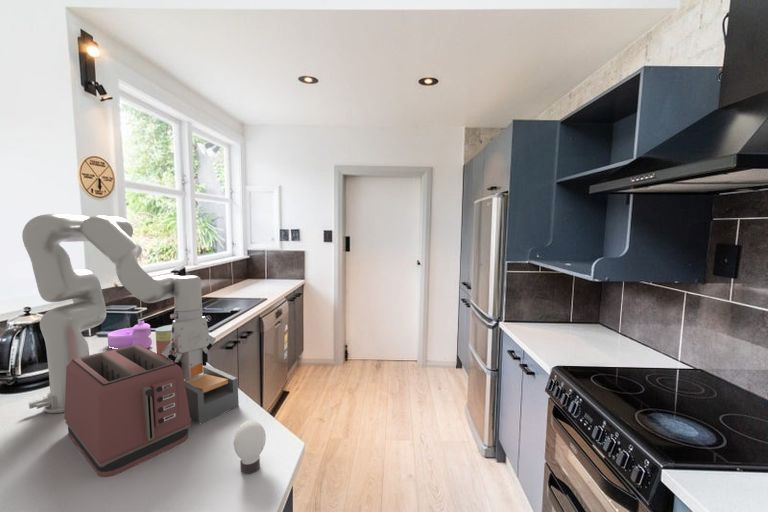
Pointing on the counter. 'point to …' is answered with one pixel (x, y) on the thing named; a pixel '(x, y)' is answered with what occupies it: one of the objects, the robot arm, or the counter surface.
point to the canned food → (163, 338)
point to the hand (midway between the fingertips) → (191, 368)
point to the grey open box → (212, 397)
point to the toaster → (125, 407)
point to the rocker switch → (207, 382)
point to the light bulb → (249, 445)
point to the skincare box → (192, 364)
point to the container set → (131, 336)
